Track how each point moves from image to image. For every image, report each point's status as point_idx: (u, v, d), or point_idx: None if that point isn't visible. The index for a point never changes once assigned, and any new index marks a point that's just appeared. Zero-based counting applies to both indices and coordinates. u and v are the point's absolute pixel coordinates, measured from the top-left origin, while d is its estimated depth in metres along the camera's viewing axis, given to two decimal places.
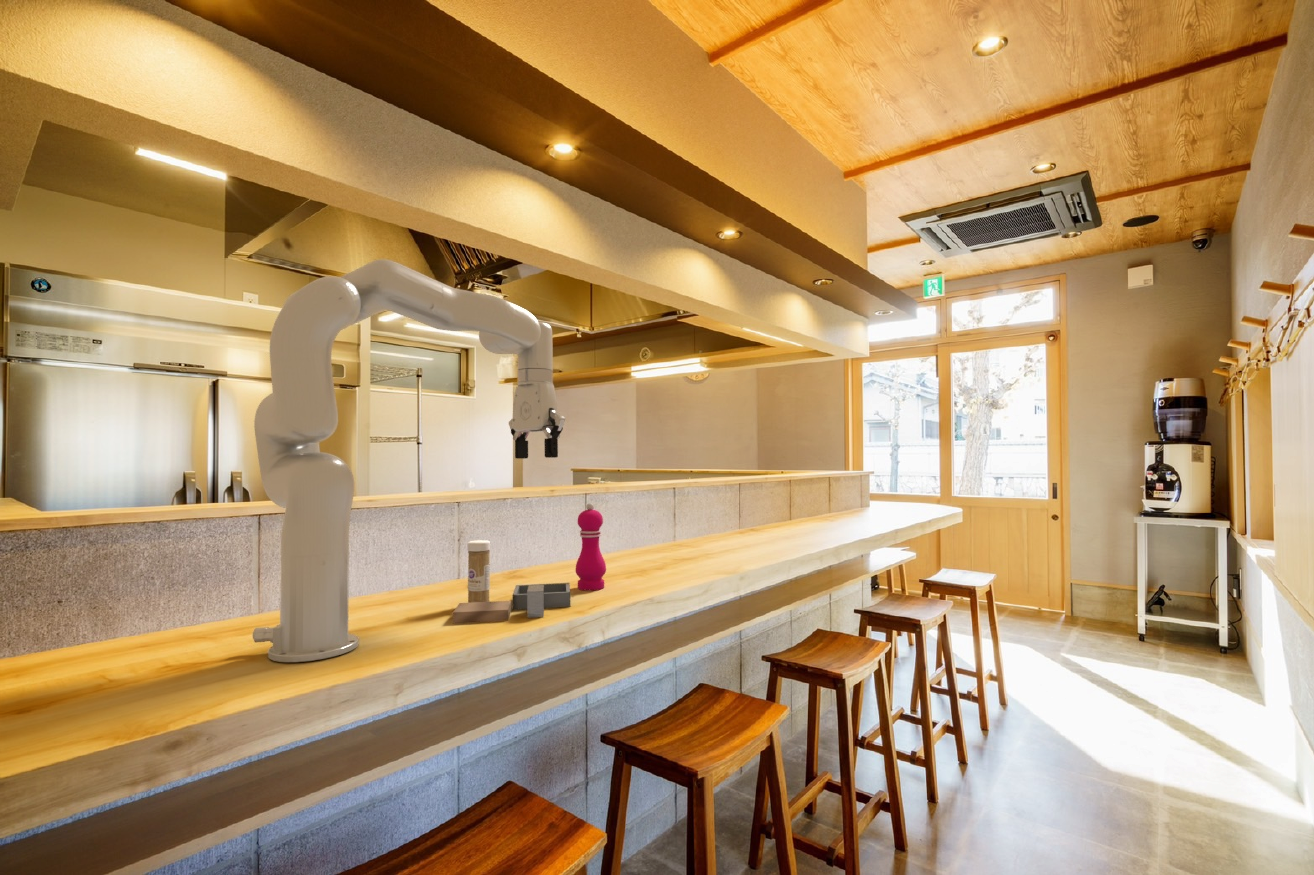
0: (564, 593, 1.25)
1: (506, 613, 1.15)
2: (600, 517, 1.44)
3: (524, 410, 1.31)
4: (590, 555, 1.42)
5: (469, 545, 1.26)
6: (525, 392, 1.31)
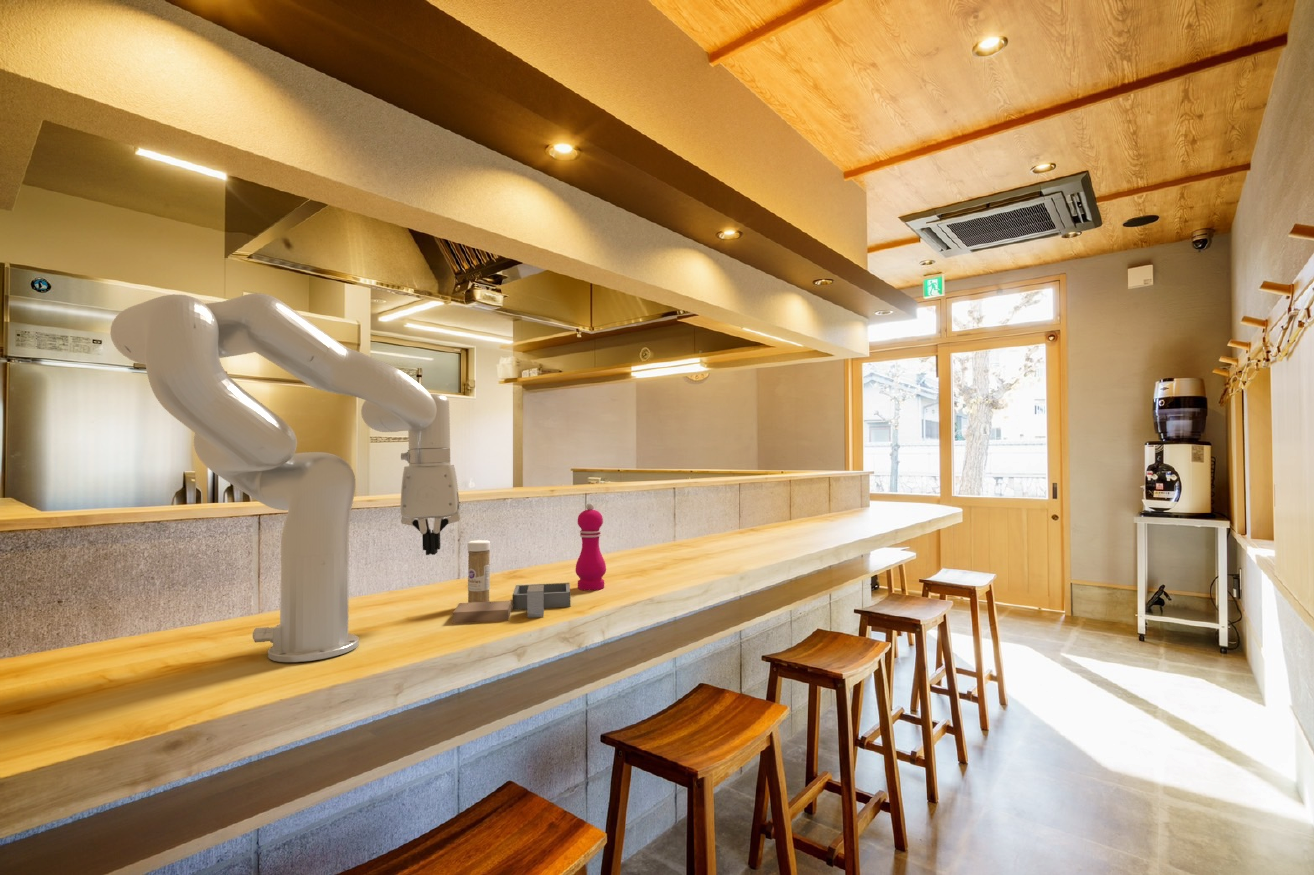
0: (564, 593, 1.25)
1: (506, 613, 1.15)
2: (600, 517, 1.44)
3: (426, 495, 1.15)
4: (590, 555, 1.42)
5: (469, 545, 1.26)
6: (427, 474, 1.15)
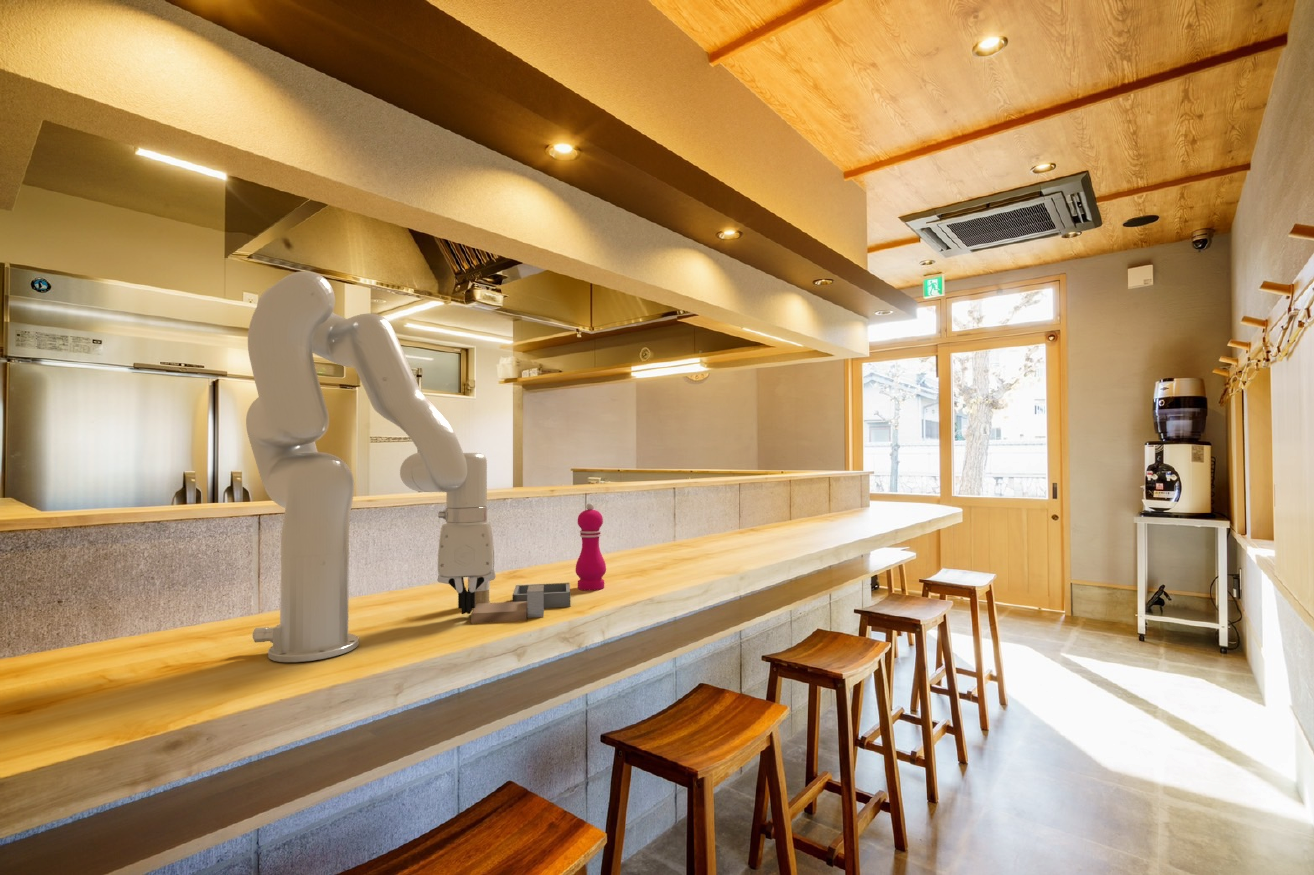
0: (564, 593, 1.25)
1: (524, 614, 1.15)
2: (600, 517, 1.44)
3: (463, 555, 1.15)
4: (590, 555, 1.42)
5: None
6: (464, 534, 1.15)
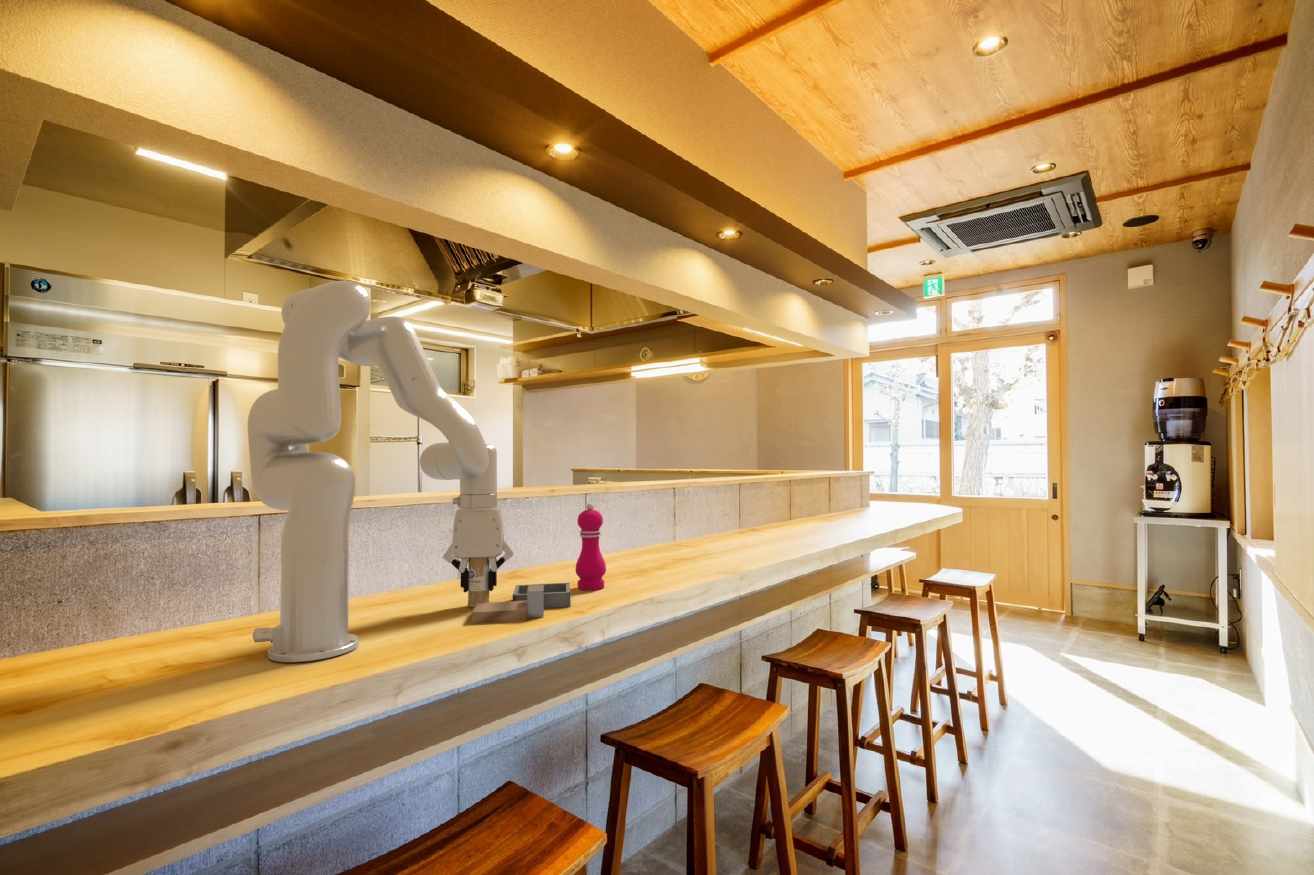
0: (564, 593, 1.25)
1: (525, 613, 1.15)
2: (600, 517, 1.44)
3: (476, 537, 1.25)
4: (590, 555, 1.42)
5: None
6: (476, 518, 1.25)
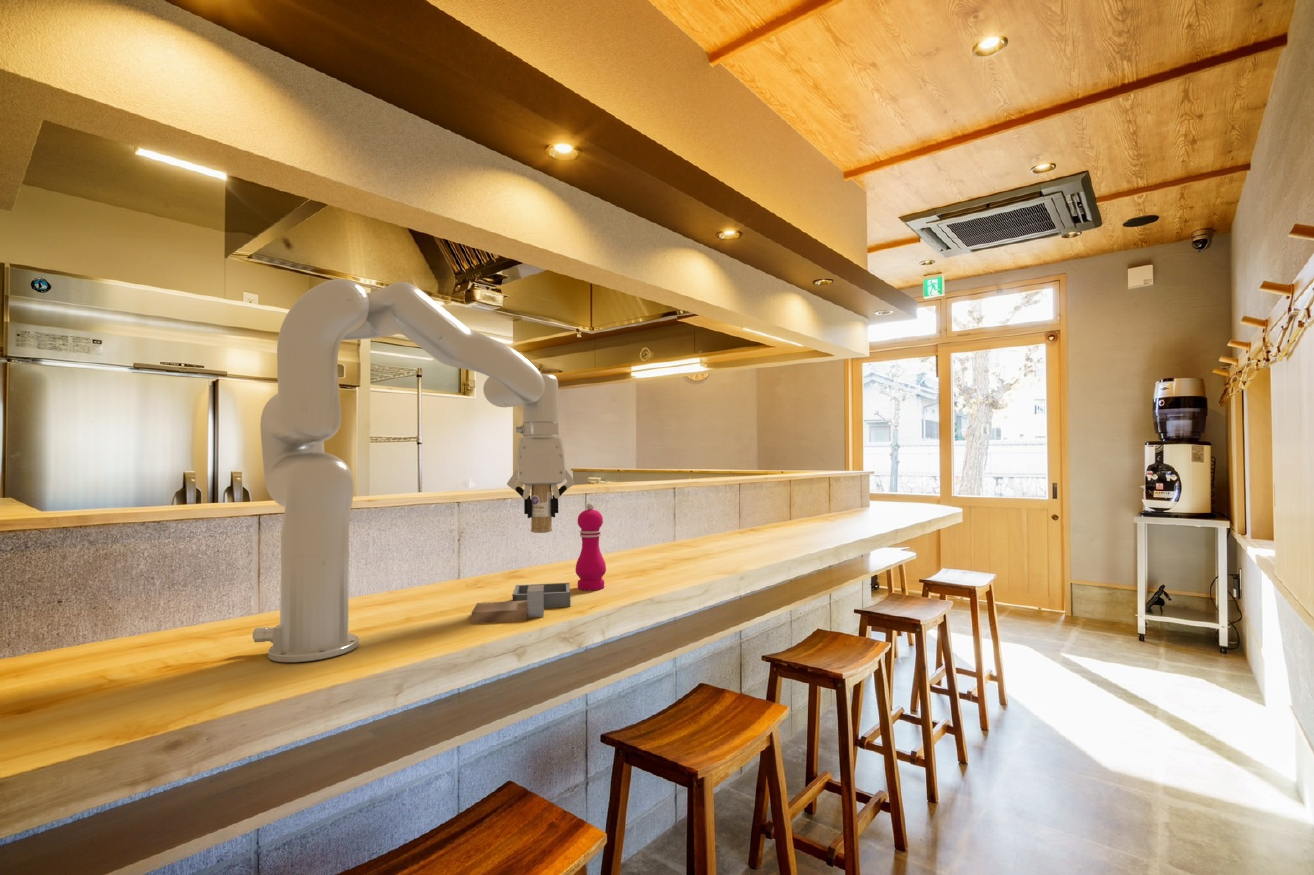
0: (564, 593, 1.25)
1: (525, 613, 1.15)
2: (600, 517, 1.44)
3: (539, 464, 1.28)
4: (590, 555, 1.42)
5: None
6: (540, 445, 1.28)
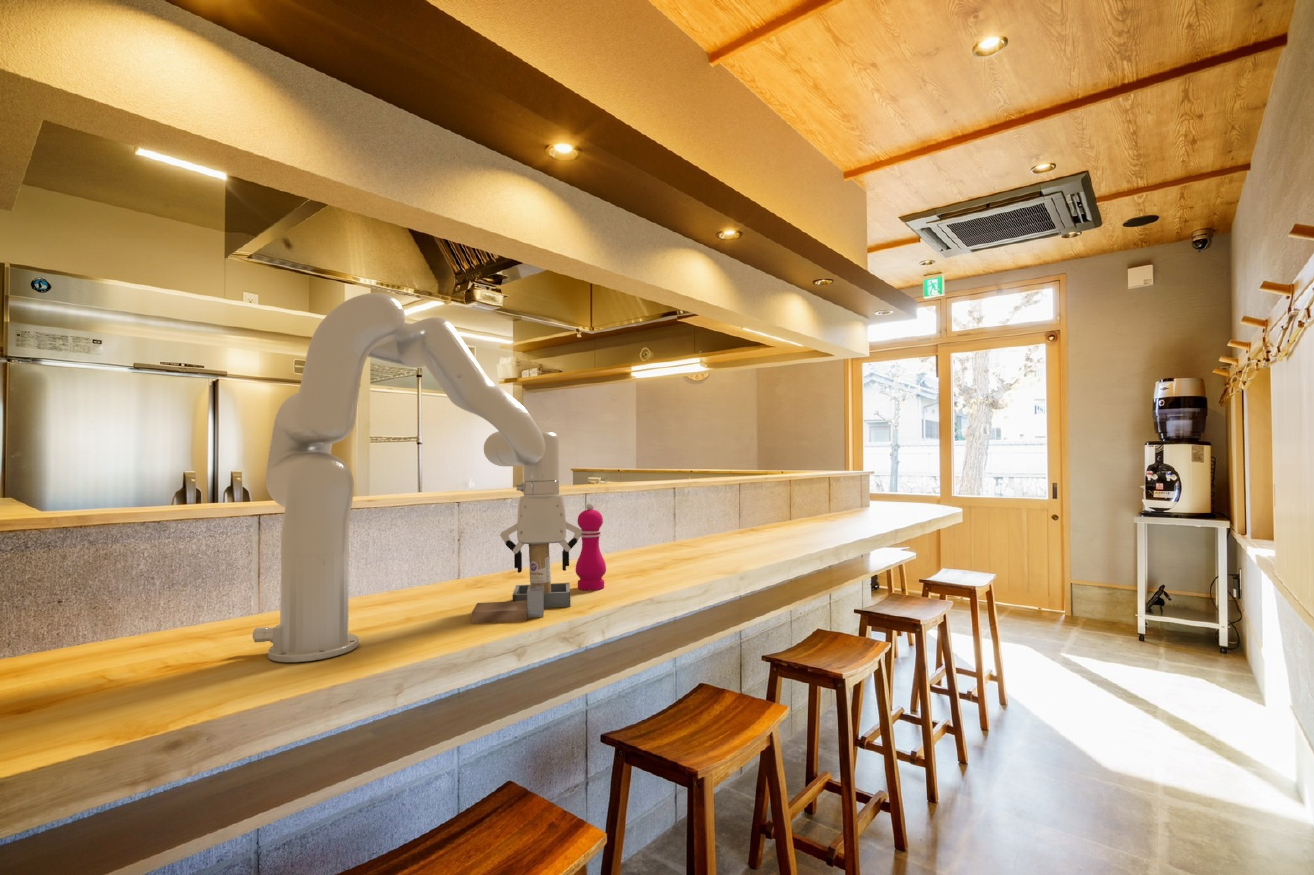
0: (564, 593, 1.25)
1: (525, 613, 1.14)
2: (600, 517, 1.44)
3: (540, 523, 1.27)
4: (590, 555, 1.42)
5: None
6: (541, 504, 1.28)
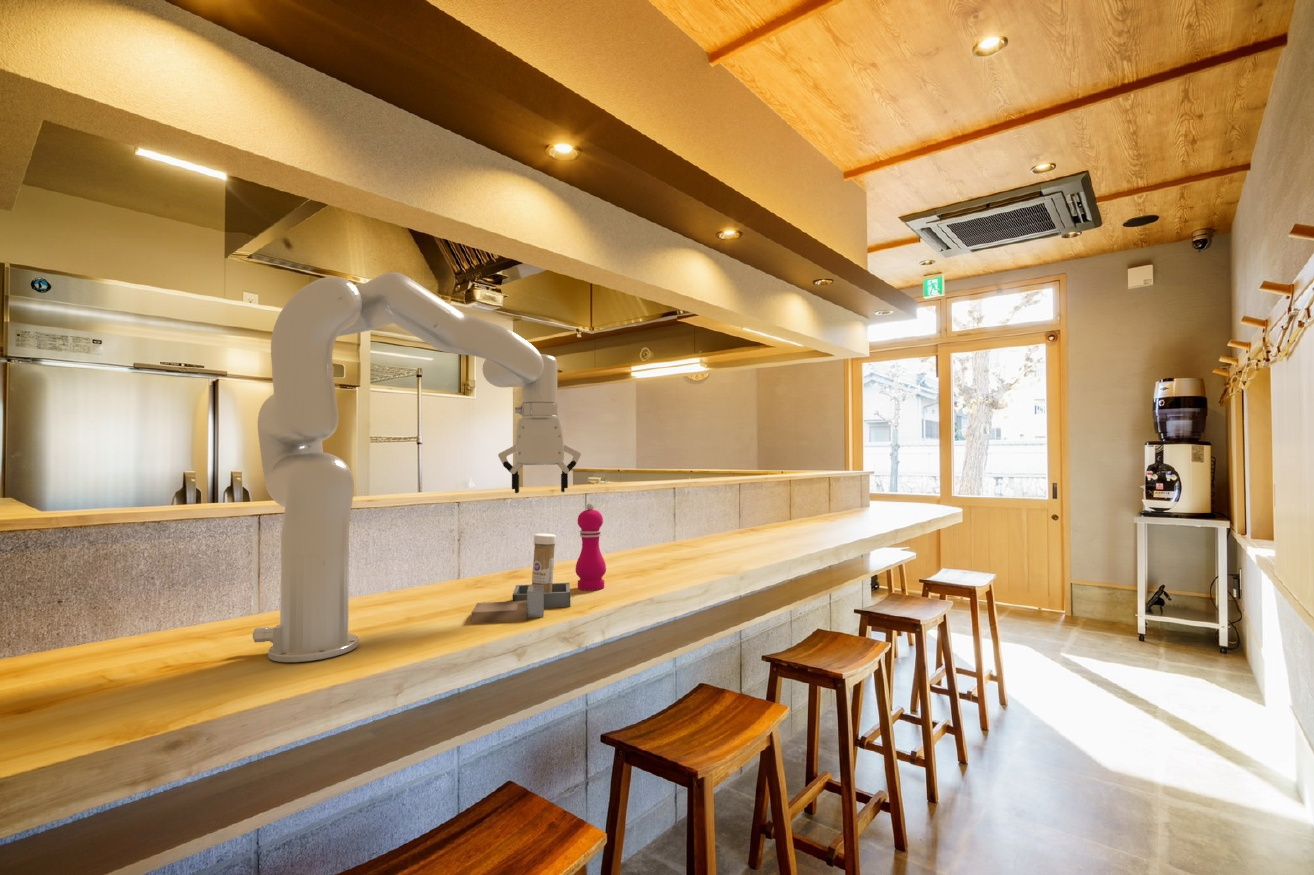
0: (564, 593, 1.25)
1: (524, 613, 1.14)
2: (600, 517, 1.44)
3: (538, 444, 1.28)
4: (590, 555, 1.42)
5: (536, 538, 1.28)
6: (539, 425, 1.28)
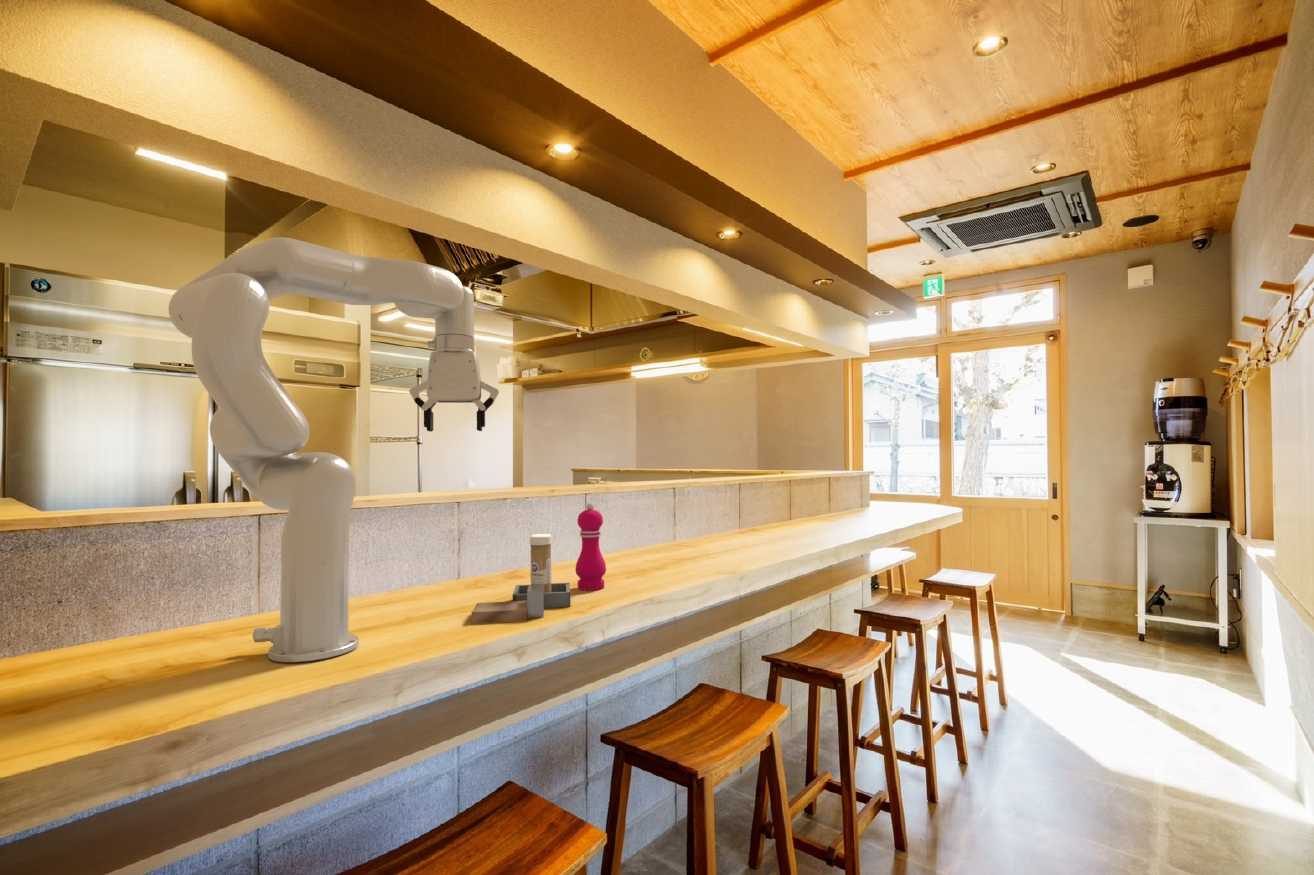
0: (564, 593, 1.25)
1: (525, 613, 1.14)
2: (600, 517, 1.44)
3: (451, 379, 1.21)
4: (590, 555, 1.42)
5: (531, 539, 1.28)
6: (452, 359, 1.21)
